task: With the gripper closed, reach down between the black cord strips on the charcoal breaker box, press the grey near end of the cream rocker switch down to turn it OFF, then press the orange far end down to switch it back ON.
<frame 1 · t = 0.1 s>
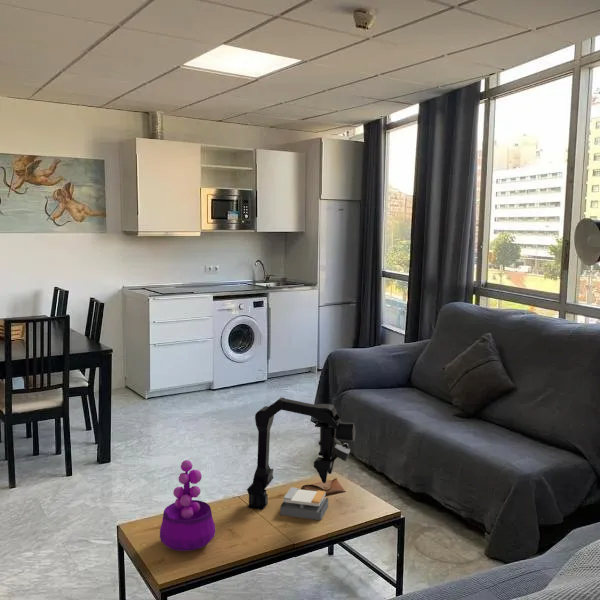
hand: (327, 478, 230), 15 cm above the table, fingers open, 9 cm apart
breaker box: (304, 510, 235), on the table
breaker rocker: (304, 496, 234), point 6 cm above the table, hinge at 0.0°
decorative plant: (187, 544, 209), on the table
sunglasses case: (323, 493, 252), on the table
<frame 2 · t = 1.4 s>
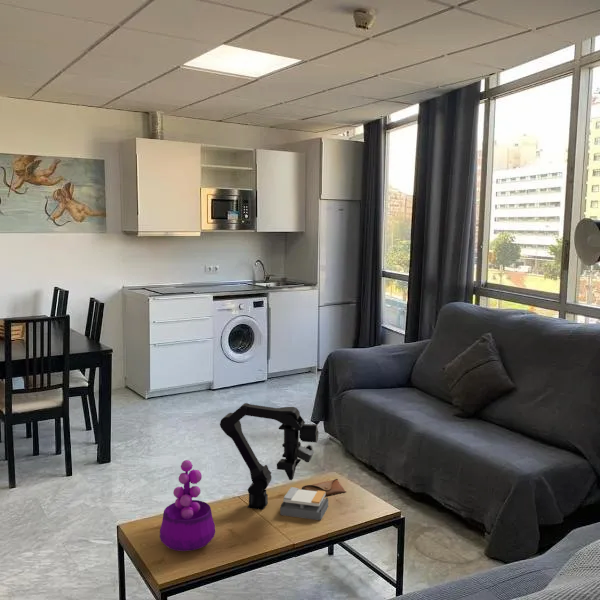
hand: (291, 479, 235), 12 cm above the table, fingers closed
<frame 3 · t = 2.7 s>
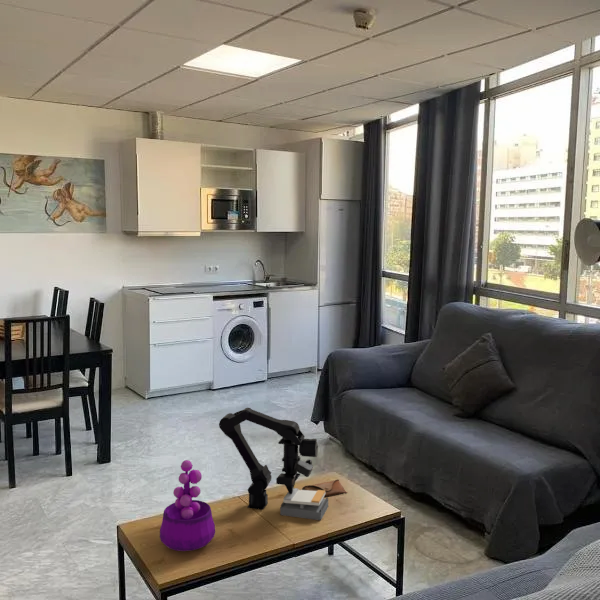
hand: (290, 493, 236), 6 cm above the table, fingers closed, pressing on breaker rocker
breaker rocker: (304, 496, 234), point 6 cm above the table, hinge at -2.7°, touching gripper
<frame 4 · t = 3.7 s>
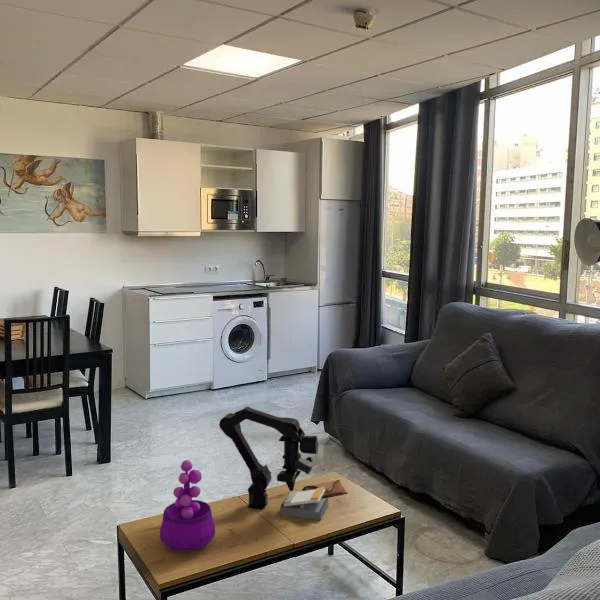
hand: (291, 490, 235), 7 cm above the table, fingers closed
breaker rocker: (304, 496, 234), point 6 cm above the table, hinge at -14.8°
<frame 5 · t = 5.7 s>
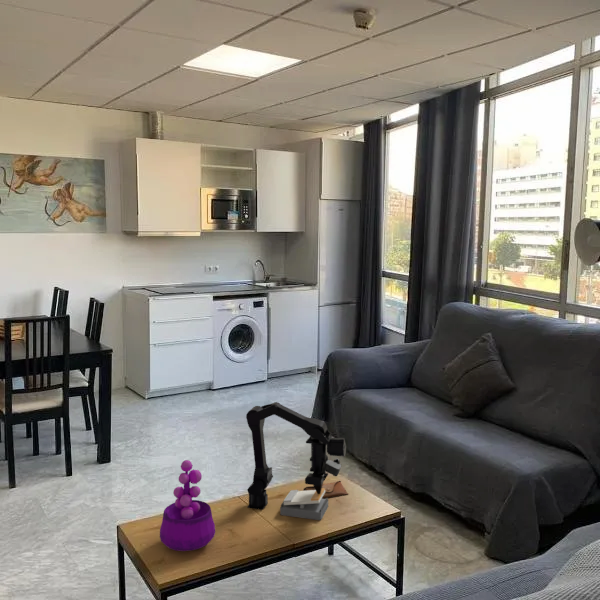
hand: (319, 493, 232), 8 cm above the table, fingers closed, pressing on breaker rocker
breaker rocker: (304, 496, 234), point 6 cm above the table, hinge at -10.4°, touching gripper
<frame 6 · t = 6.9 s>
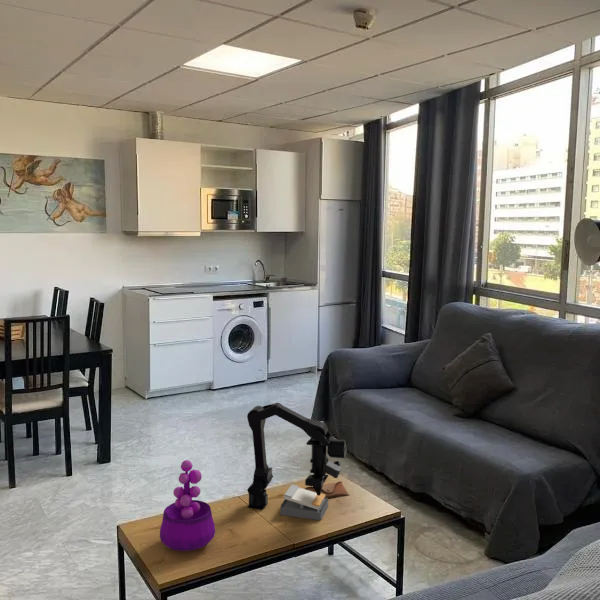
hand: (318, 495, 232), 7 cm above the table, fingers closed
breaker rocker: (304, 496, 234), point 6 cm above the table, hinge at 11.1°
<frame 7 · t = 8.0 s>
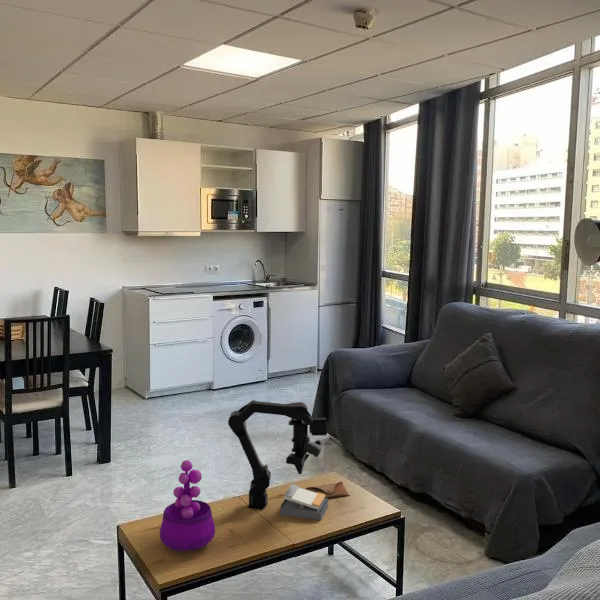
hand: (300, 473, 238), 13 cm above the table, fingers closed
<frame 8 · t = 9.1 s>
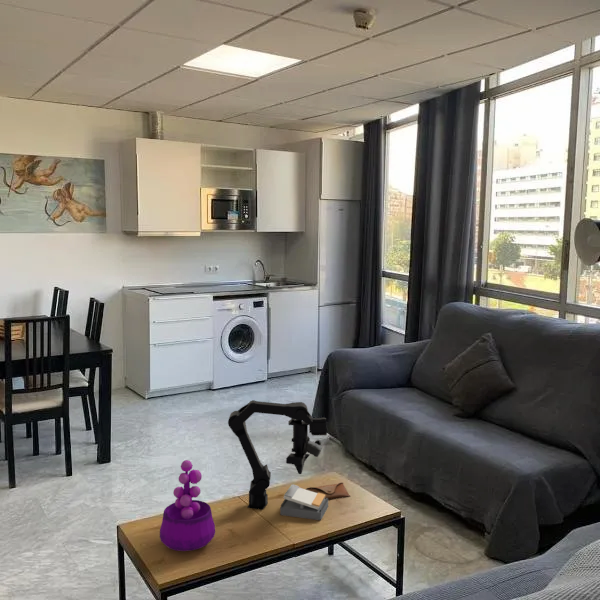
hand: (300, 473, 238), 13 cm above the table, fingers closed
at the end: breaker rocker at +11° (first picture: +0°); sunglasses case moved 4.2 cm from its start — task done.
